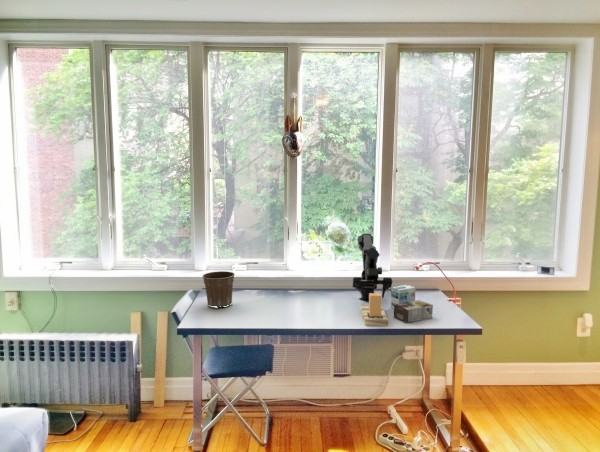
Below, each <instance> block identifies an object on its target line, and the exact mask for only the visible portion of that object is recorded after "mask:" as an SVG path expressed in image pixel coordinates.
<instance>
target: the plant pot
mask: <svg viewBox="0 0 600 452" xmlns="http://www.w3.org/2000/svg"><path fill="white" fill-rule="evenodd" d="M235 275H236V274H235V272H233V271H225V270H223V271H211V272H207V273H204V274H202V278H203V283H204V286H205V293H206V294H205V295H206V299H207V300H206V301H207V306H208V305H210V306H217V307H220V306H227V305H230V304H231V303H232V304H233V287H234V279H235ZM230 306H231V305H230ZM220 308H221V307H220Z"/></svg>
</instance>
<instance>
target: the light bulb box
mask: <svg viewBox="0 0 600 452" xmlns="http://www.w3.org/2000/svg"><path fill="white" fill-rule="evenodd" d="M416 291H417V290H416V287H415V286H411V285H409V284H404V285H403V284H402V285H397V286H391V290H390V308H391V309H393V310H394V305H395V304H400V303H405V302H410V301H415V300H416Z"/></svg>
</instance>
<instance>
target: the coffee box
mask: <svg viewBox="0 0 600 452" xmlns="http://www.w3.org/2000/svg"><path fill="white" fill-rule="evenodd" d="M433 309H434V304H432V303H429V302H426V301H424V300H421V299H415V301H410V302H405V303H400V304H395V305H394V309H393V318H395V319H397V320H399V321H401V322H404V323H405V324H409V323H412V322H413V323H414V322H417V321H421V320H426V319H427V320H428V319H430V318H433Z"/></svg>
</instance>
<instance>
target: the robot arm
mask: <svg viewBox="0 0 600 452" xmlns="http://www.w3.org/2000/svg"><path fill="white" fill-rule="evenodd" d="M373 244H374V236H373V235H372V233H362V234H360V235H359V236H358V237H357V245H358V249H359V250H360V251H361V256H362V268H363V269H362V272H361V277H359V276H354V277H353V278H352V283H351V287H352V288H355V290H357V291H358V292H359V294H360V297H359V298H358V299H359V300H361V301H365V302H367V303H369V293H375V290H377V289H378V285H382V287H381V300H383V299H384V297H385V293H386V291H387V290H389V288H391V287H392V285H393V278H391V277H385V276H384V277H383V278H382V280H380V279H379V275H382V274H383V268H382V266H381V267H377V264H378V258H379V257H380V253H379V251H378V249H377V248H376V246H374V245H373Z"/></svg>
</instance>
